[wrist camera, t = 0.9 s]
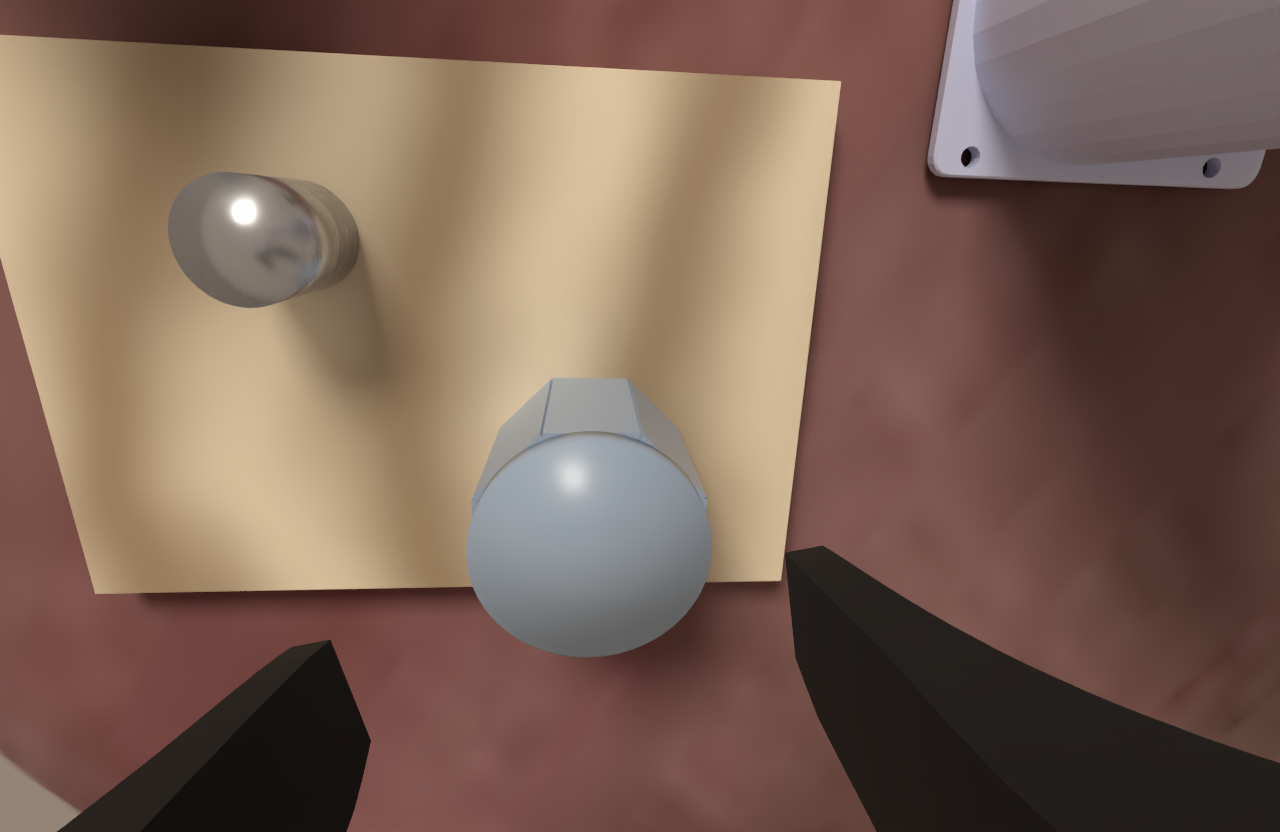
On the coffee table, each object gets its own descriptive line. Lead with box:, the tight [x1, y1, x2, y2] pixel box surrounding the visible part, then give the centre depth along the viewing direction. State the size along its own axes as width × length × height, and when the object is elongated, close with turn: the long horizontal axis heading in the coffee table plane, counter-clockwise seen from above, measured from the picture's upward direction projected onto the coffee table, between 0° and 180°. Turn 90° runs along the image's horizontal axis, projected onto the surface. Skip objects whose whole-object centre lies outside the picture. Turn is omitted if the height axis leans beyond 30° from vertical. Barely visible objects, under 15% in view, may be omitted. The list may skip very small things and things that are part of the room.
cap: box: [466, 378, 712, 657], centre depth 15 cm, size 5×5×5 cm
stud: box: [168, 172, 359, 308], centre depth 14 cm, size 3×3×3 cm
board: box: [0, 35, 841, 594], centre depth 17 cm, size 20×14×1 cm
